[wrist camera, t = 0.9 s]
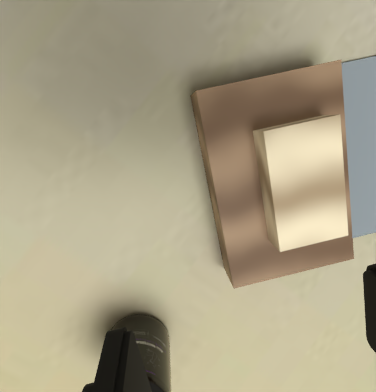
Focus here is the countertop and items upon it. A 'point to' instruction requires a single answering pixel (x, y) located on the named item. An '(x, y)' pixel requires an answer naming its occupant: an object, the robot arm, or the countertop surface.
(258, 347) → the countertop surface
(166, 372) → the supplement bottle
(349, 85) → the slate mat
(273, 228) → the maple tile
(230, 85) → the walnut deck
